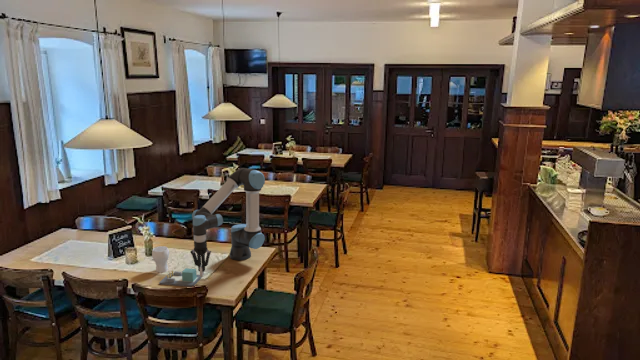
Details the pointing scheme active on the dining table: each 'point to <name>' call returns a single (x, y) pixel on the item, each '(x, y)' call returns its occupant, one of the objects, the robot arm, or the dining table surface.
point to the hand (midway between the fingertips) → (202, 275)
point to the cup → (161, 258)
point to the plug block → (189, 274)
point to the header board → (177, 280)
